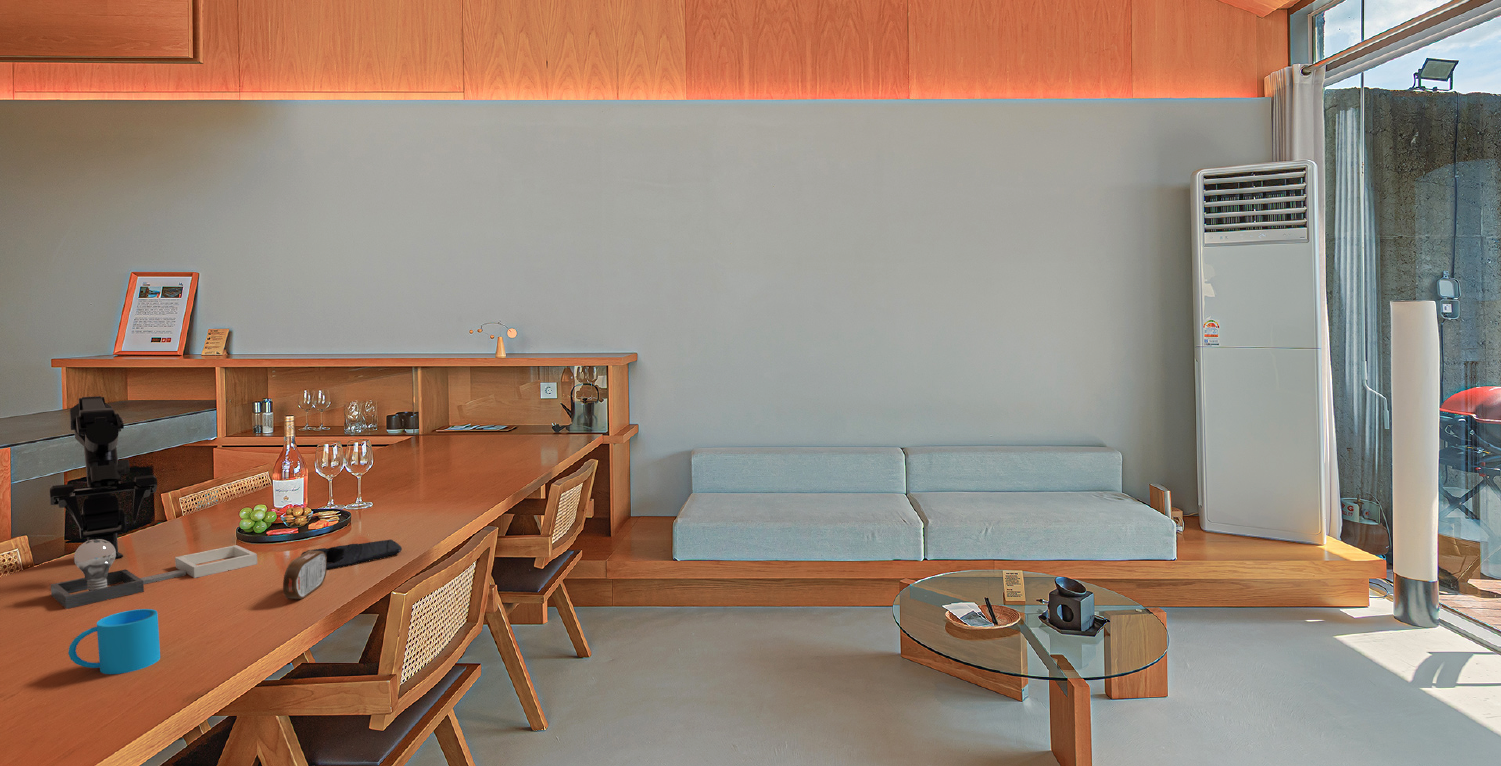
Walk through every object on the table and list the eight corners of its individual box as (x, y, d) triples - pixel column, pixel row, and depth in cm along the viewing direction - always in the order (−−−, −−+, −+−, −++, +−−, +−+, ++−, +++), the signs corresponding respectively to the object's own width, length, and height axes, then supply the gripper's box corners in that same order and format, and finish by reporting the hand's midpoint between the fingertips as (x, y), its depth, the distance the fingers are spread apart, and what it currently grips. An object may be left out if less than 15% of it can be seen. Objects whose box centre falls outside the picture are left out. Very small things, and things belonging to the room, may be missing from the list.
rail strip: (134, 582, 177) (134, 579, 177) (181, 572, 184) (181, 569, 184) (138, 585, 175) (138, 581, 175) (186, 575, 182) (185, 571, 182)
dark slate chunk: (407, 559, 195) (406, 540, 195) (306, 576, 182) (305, 556, 182) (394, 545, 207) (393, 527, 207) (298, 560, 195) (297, 541, 194)
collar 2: (175, 567, 188) (175, 557, 188) (237, 554, 198) (236, 544, 198) (194, 577, 180) (193, 567, 180) (257, 564, 190) (256, 554, 190)
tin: (316, 581, 177) (314, 545, 176) (330, 581, 177) (328, 544, 176) (282, 605, 162) (280, 565, 161) (298, 605, 162) (296, 565, 161)
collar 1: (51, 595, 168) (50, 584, 168) (126, 579, 179) (125, 569, 178) (66, 608, 160) (65, 596, 160) (143, 591, 171) (143, 580, 170)
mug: (161, 650, 140) (158, 605, 139) (159, 666, 133) (156, 619, 133) (73, 667, 133) (70, 620, 132) (66, 685, 126) (62, 636, 126)
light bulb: (94, 600, 165) (90, 544, 165) (68, 598, 167) (64, 543, 166) (126, 589, 172) (123, 535, 171) (101, 587, 174) (97, 534, 173)
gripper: (47, 453, 168) (52, 522, 164) (155, 443, 181) (163, 507, 177) (47, 470, 176) (53, 537, 172) (151, 460, 189) (159, 522, 184)
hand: (108, 525), depth 176 cm, fingers open, 9 cm apart
